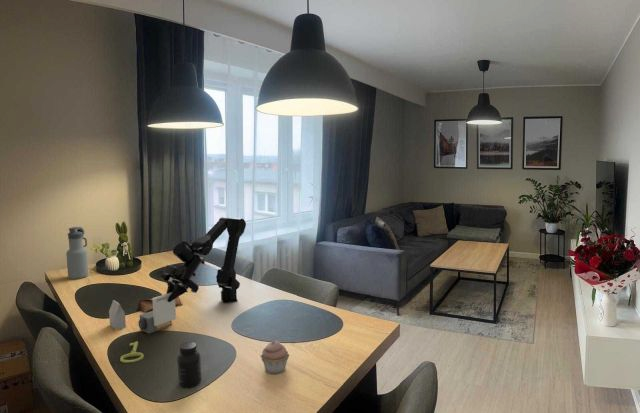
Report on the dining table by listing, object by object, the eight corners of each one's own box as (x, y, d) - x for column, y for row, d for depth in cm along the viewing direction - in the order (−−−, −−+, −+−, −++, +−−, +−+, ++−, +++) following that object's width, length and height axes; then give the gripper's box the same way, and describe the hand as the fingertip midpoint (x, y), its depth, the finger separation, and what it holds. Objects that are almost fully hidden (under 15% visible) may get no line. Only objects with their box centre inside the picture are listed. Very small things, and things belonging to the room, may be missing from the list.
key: (138, 345, 149) (137, 340, 149) (145, 360, 139) (144, 354, 139) (116, 351, 145) (115, 345, 145) (121, 366, 135) (121, 360, 135)
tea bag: (116, 330, 161) (114, 305, 160) (109, 324, 166) (108, 301, 165) (125, 327, 164) (124, 303, 163) (119, 322, 169) (117, 298, 167)
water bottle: (76, 273, 235) (73, 225, 231) (92, 274, 234) (89, 226, 230) (64, 279, 225) (59, 229, 221) (80, 279, 224) (76, 229, 220)
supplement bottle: (192, 374, 129) (190, 338, 128) (206, 381, 126) (205, 344, 124) (173, 384, 124) (171, 346, 122) (187, 391, 120) (186, 353, 118)
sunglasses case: (142, 313, 177) (140, 298, 179) (139, 317, 183) (137, 302, 185) (184, 304, 188) (181, 290, 190) (180, 308, 193) (178, 294, 195)
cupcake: (261, 362, 137) (261, 334, 135) (289, 361, 137) (289, 333, 136) (259, 377, 127) (258, 347, 126) (289, 377, 128) (288, 346, 127)
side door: (174, 317, 166) (172, 291, 165) (176, 318, 165) (175, 292, 164) (153, 325, 159) (152, 298, 158) (156, 326, 158) (154, 299, 157)
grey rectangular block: (163, 321, 169) (162, 307, 169) (171, 325, 166) (171, 310, 165) (137, 330, 161) (136, 316, 160) (146, 334, 157) (145, 319, 156)
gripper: (162, 253, 169) (139, 286, 162) (191, 260, 158) (167, 296, 151) (180, 267, 177) (158, 299, 169) (208, 275, 166) (186, 310, 158)
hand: (166, 301), depth 162 cm, fingers closed on side door, 2 cm apart
